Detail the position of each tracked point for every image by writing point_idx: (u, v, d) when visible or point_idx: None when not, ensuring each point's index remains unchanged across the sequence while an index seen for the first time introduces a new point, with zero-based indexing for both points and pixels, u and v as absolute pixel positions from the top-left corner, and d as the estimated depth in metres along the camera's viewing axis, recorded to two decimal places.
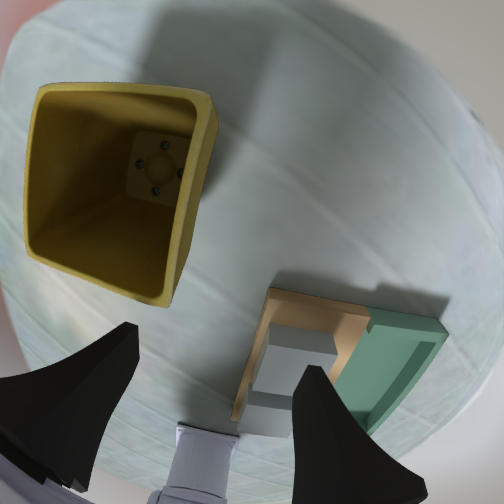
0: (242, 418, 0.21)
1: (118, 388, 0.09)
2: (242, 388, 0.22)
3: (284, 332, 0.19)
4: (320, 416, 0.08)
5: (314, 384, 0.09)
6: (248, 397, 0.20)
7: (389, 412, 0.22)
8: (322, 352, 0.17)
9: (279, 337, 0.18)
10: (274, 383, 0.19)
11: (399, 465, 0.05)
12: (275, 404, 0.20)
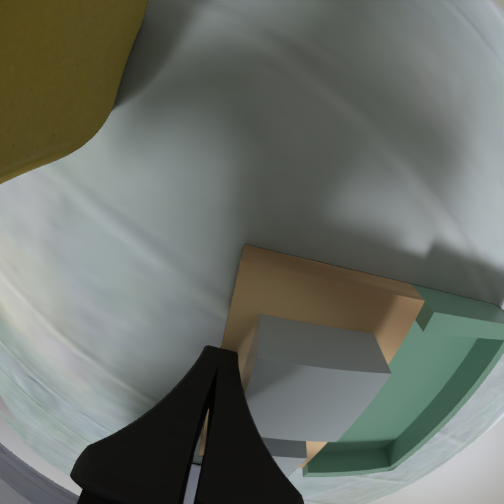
0: None
1: (205, 415, 0.09)
2: None
3: (289, 332, 0.10)
4: (214, 401, 0.08)
5: (217, 368, 0.09)
6: None
7: (424, 441, 0.13)
8: (363, 370, 0.08)
9: (280, 342, 0.09)
10: (270, 424, 0.09)
11: (277, 471, 0.05)
12: None
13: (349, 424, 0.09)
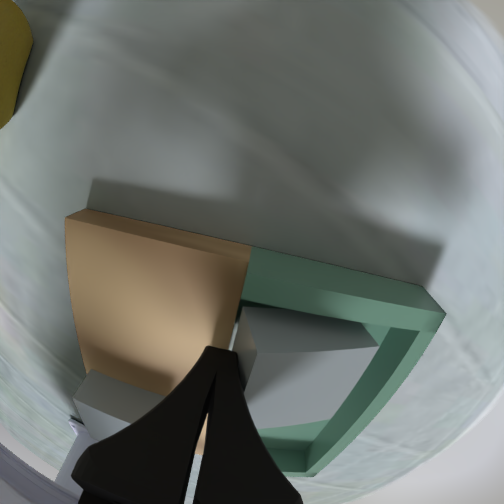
0: (83, 419, 0.11)
1: (205, 415, 0.09)
2: None
3: (277, 321, 0.10)
4: (213, 401, 0.08)
5: (216, 367, 0.09)
6: (79, 389, 0.11)
7: (338, 449, 0.13)
8: (355, 347, 0.09)
9: (272, 333, 0.09)
10: (269, 414, 0.10)
11: (276, 471, 0.05)
12: (112, 408, 0.11)
13: (342, 400, 0.11)
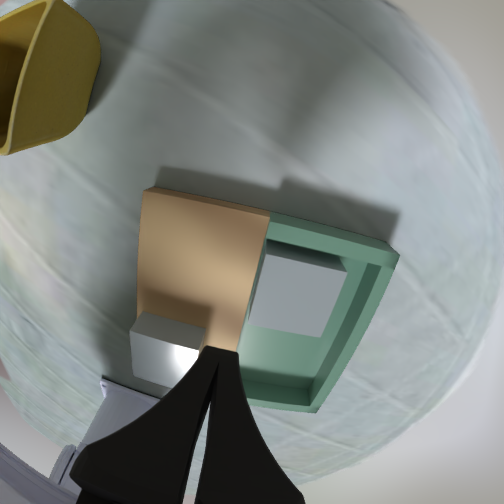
0: (132, 354, 0.18)
1: (204, 414, 0.09)
2: None
3: (284, 248, 0.17)
4: (215, 401, 0.08)
5: (218, 368, 0.09)
6: (134, 324, 0.18)
7: (334, 377, 0.19)
8: (328, 267, 0.16)
9: (278, 250, 0.16)
10: (273, 313, 0.17)
11: (278, 471, 0.05)
12: (163, 336, 0.17)
13: (327, 318, 0.17)
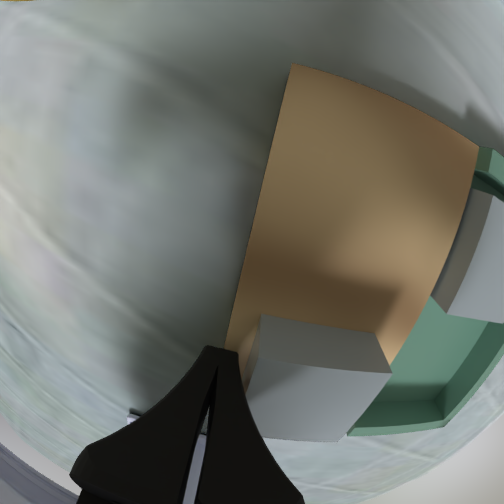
0: None
1: (204, 415, 0.09)
2: (231, 327, 0.11)
3: None
4: (214, 401, 0.08)
5: (217, 368, 0.09)
6: (261, 342, 0.09)
7: (484, 377, 0.11)
8: None
9: None
10: (479, 292, 0.08)
11: (277, 471, 0.05)
12: (327, 358, 0.09)
13: None
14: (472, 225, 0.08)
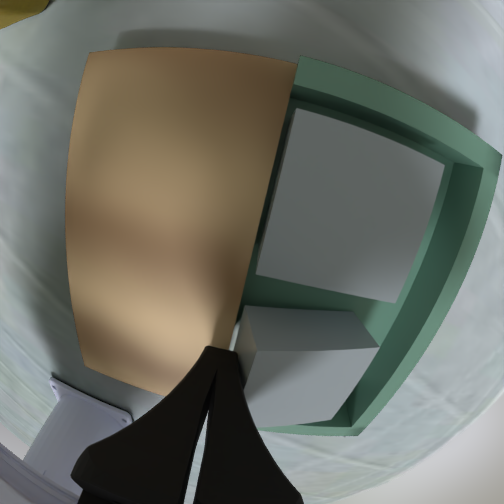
0: None
1: (205, 415, 0.09)
2: (70, 279, 0.11)
3: None
4: (213, 401, 0.08)
5: (217, 367, 0.09)
6: (255, 335, 0.09)
7: (399, 379, 0.10)
8: (414, 150, 0.07)
9: None
10: (312, 247, 0.08)
11: (276, 471, 0.05)
12: (319, 341, 0.09)
13: (410, 260, 0.08)
14: (283, 156, 0.08)
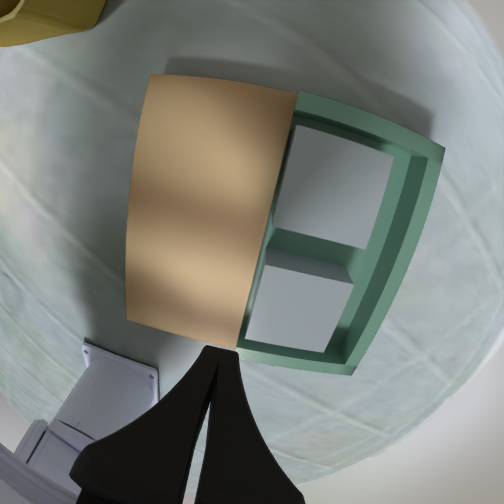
0: (256, 303, 0.15)
1: (204, 414, 0.09)
2: (127, 241, 0.15)
3: None
4: (215, 401, 0.08)
5: (218, 368, 0.09)
6: (266, 259, 0.15)
7: (378, 318, 0.15)
8: (371, 148, 0.11)
9: None
10: (307, 209, 0.13)
11: (278, 471, 0.05)
12: (308, 270, 0.14)
13: (373, 219, 0.13)
14: (288, 153, 0.12)
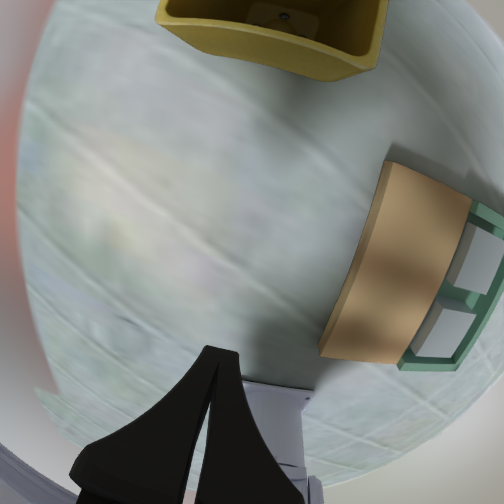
0: (430, 332, 0.18)
1: (204, 414, 0.09)
2: (349, 296, 0.19)
3: None
4: (215, 401, 0.08)
5: (218, 368, 0.09)
6: (439, 303, 0.18)
7: (479, 332, 0.19)
8: None
9: (475, 225, 0.16)
10: (470, 275, 0.16)
11: (278, 471, 0.05)
12: (457, 308, 0.18)
13: (493, 278, 0.16)
14: (466, 240, 0.16)
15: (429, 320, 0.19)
